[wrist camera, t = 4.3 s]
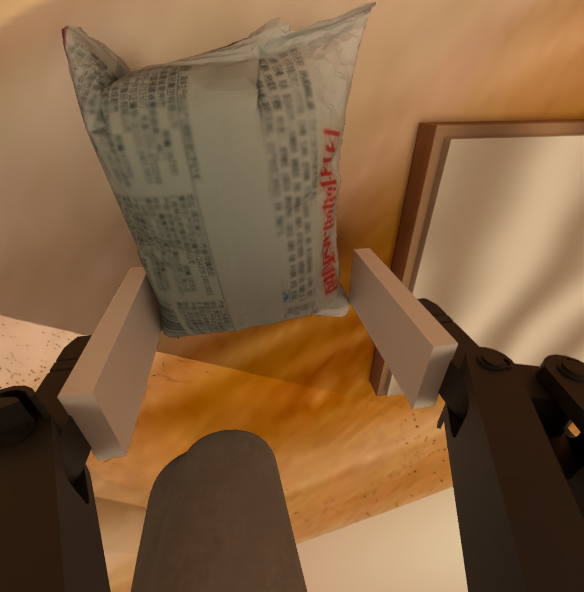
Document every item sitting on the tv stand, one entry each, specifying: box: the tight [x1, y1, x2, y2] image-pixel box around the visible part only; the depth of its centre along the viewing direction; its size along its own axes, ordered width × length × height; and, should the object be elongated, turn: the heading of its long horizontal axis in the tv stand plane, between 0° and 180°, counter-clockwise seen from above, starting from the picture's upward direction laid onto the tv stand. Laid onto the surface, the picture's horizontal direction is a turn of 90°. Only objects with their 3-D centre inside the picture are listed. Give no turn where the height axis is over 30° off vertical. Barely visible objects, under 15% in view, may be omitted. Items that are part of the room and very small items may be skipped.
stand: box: [370, 120, 584, 396], centre depth 20 cm, size 18×18×2 cm
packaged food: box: [62, 2, 376, 338], centre depth 12 cm, size 9×12×5 cm
